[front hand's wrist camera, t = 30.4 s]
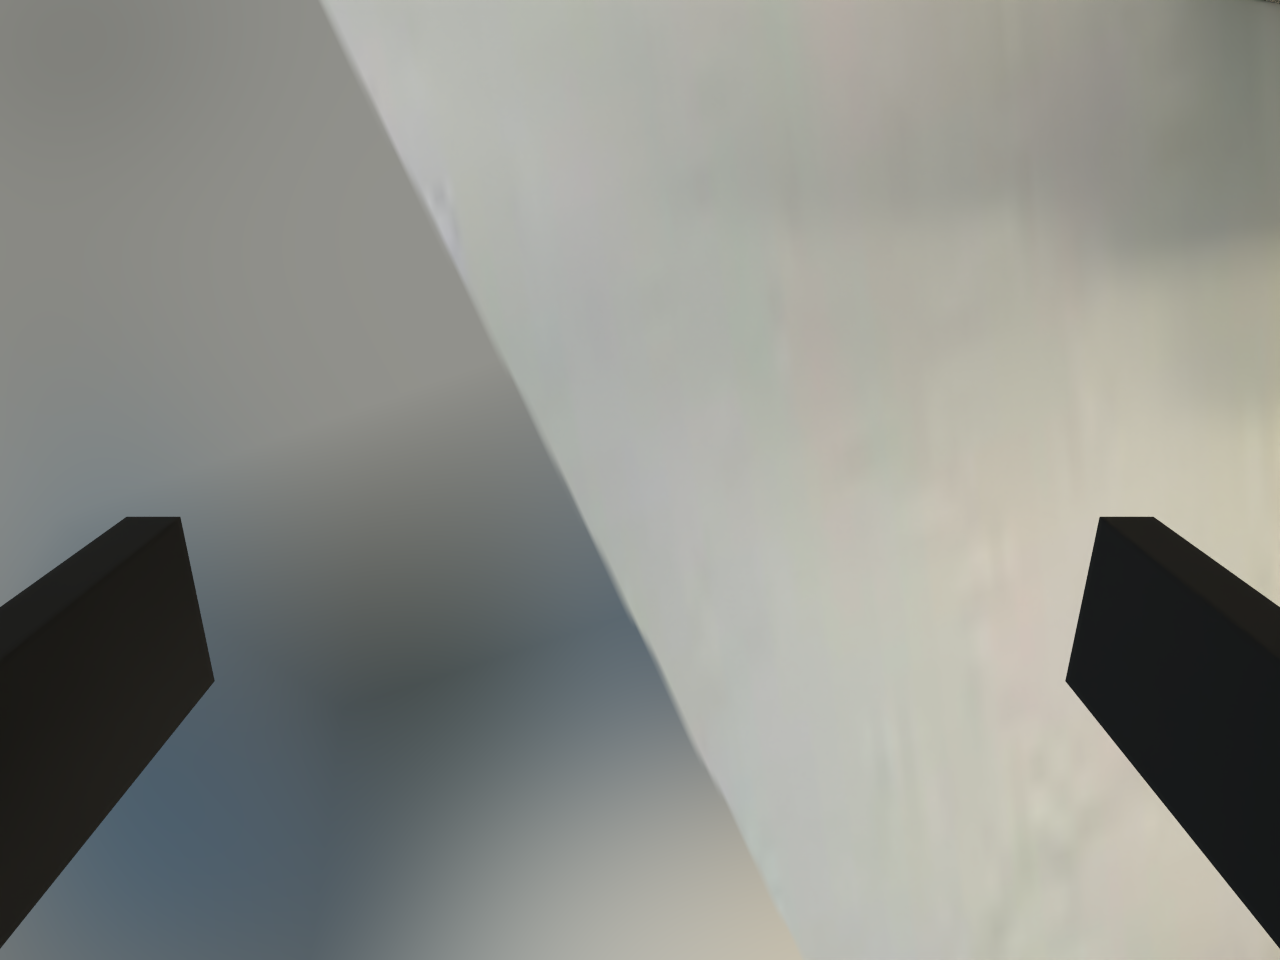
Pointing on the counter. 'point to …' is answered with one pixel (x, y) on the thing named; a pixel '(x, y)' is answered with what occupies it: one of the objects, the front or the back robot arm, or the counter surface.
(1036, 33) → the counter surface
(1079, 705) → the counter surface
